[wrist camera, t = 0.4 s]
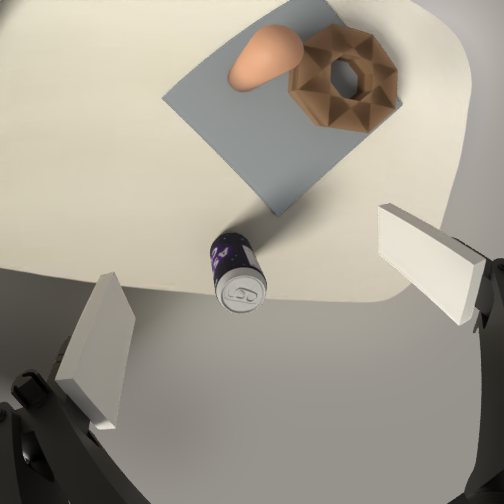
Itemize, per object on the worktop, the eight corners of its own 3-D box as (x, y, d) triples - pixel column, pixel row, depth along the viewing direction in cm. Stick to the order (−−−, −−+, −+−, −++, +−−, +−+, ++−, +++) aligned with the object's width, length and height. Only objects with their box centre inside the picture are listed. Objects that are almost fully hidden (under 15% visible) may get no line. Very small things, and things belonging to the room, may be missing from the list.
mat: (162, 98, 32) (161, 98, 31) (310, -11, 28) (311, -12, 27) (276, 215, 41) (278, 216, 41) (399, 105, 37) (402, 105, 36)
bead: (266, 68, 32) (274, 63, 28) (340, 18, 30) (353, 10, 26) (333, 148, 38) (346, 152, 34) (395, 94, 36) (412, 94, 32)
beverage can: (220, 224, 40) (230, 264, 29) (256, 239, 42) (279, 282, 31) (203, 259, 42) (207, 308, 31) (239, 272, 44) (254, 322, 33)
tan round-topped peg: (220, 76, 31) (239, 43, 17) (244, 56, 31) (279, 15, 17) (242, 98, 33) (275, 82, 19) (266, 79, 32) (314, 53, 18)
